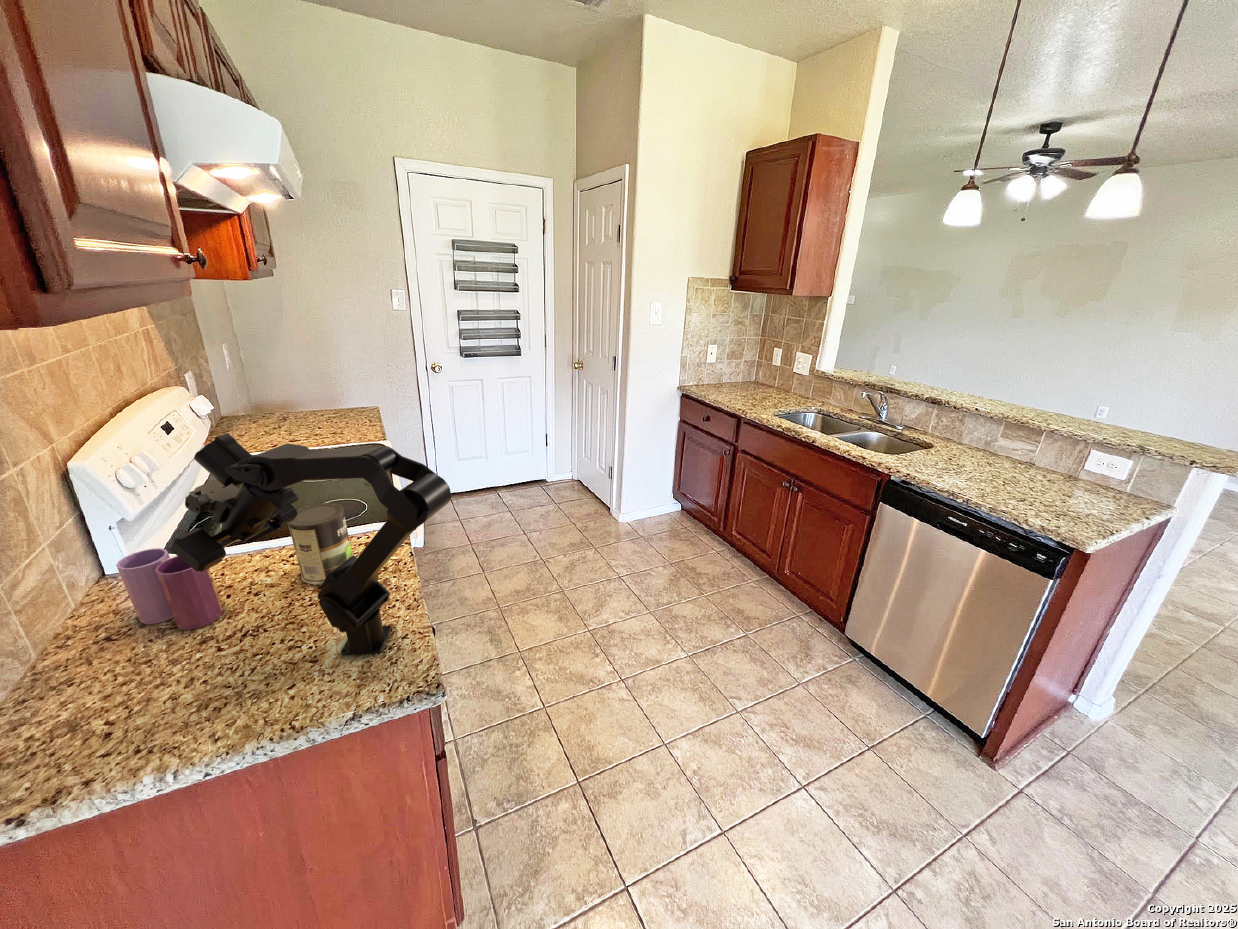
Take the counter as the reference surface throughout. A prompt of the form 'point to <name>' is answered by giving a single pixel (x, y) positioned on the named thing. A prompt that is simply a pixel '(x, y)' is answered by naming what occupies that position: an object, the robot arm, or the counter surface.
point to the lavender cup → (145, 584)
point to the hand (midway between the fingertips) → (223, 554)
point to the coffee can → (320, 540)
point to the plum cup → (189, 594)
